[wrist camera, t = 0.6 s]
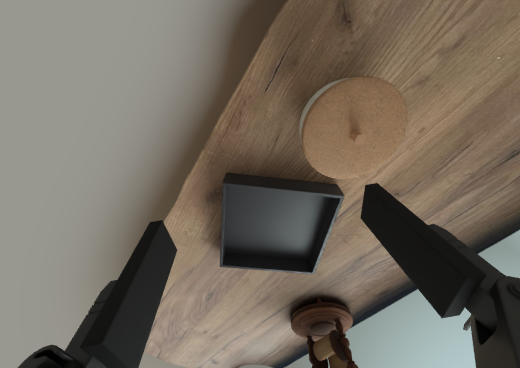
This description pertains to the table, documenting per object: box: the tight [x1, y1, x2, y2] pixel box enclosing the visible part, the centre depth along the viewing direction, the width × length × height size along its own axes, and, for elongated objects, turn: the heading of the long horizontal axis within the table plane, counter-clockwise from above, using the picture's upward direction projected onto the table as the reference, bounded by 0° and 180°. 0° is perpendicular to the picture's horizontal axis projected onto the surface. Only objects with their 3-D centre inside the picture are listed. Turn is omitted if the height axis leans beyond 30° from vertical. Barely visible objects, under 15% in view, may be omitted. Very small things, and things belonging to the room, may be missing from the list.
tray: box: [220, 173, 344, 274], centre depth 35 cm, size 18×18×3 cm
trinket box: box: [299, 76, 407, 179], centre depth 24 cm, size 11×11×9 cm
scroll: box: [291, 298, 358, 368], centre depth 43 cm, size 15×15×20 cm
